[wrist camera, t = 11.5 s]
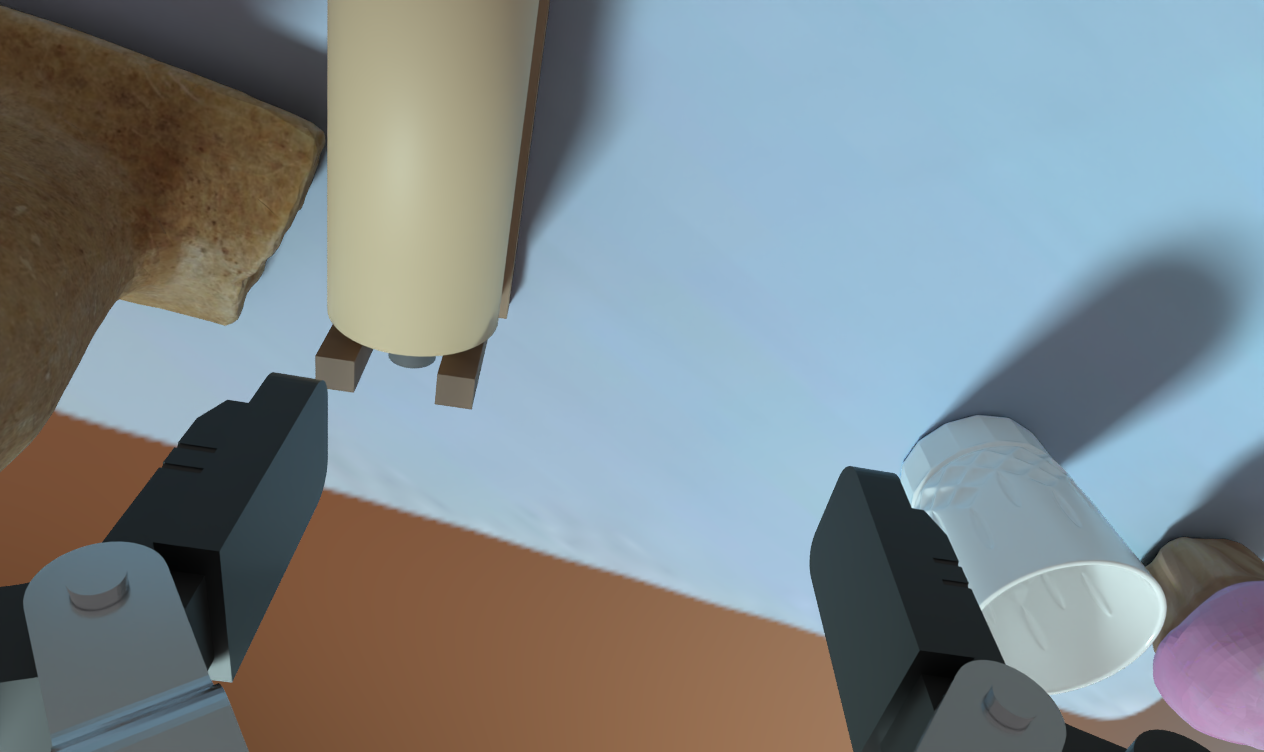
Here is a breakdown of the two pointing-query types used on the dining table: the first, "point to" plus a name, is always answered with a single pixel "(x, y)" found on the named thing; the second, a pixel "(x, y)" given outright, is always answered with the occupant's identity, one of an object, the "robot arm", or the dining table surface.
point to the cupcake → (1212, 637)
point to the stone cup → (125, 200)
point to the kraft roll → (422, 168)
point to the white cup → (1035, 553)
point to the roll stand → (460, 371)
